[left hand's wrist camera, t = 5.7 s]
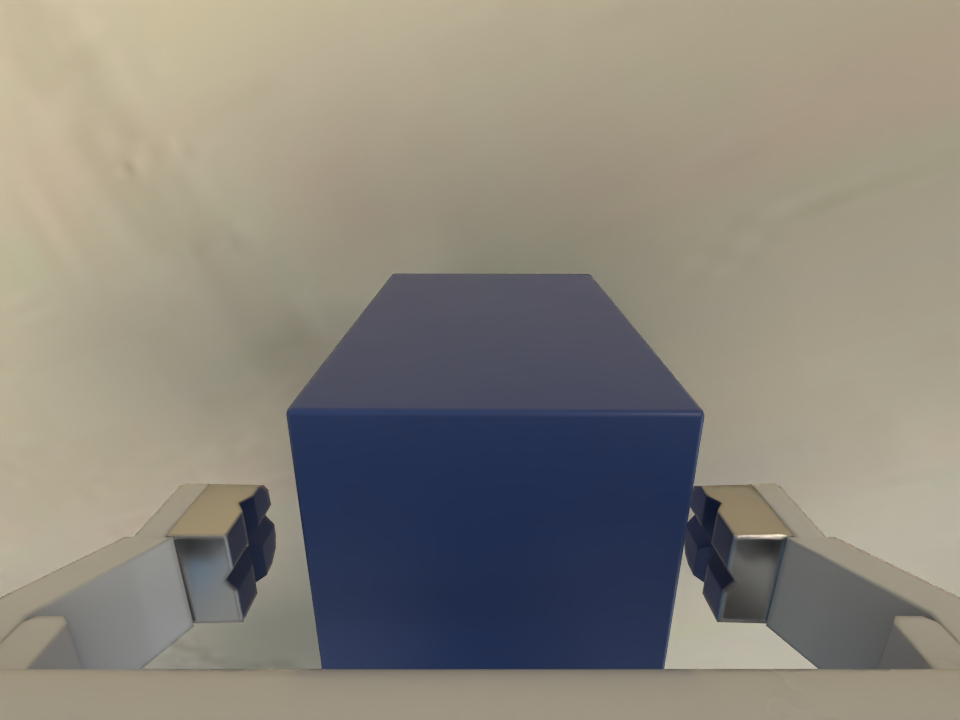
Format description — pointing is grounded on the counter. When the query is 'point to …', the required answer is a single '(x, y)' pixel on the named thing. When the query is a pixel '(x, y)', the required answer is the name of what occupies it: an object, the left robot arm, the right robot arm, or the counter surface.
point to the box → (493, 480)
